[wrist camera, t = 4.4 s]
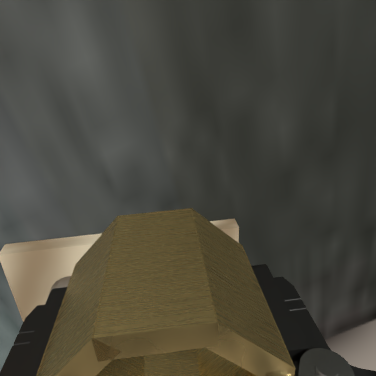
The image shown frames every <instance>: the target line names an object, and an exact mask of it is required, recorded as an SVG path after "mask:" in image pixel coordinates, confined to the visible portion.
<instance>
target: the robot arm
mask: <svg viewBox="0 0 376 376" xmlns="http://www.w3.org/2000/svg"><path fill="white" fill-rule="evenodd" d="M251 267H252V269H253V271H254V274H255V276H256V278H257V281H258V283H259V285H260V288H261V290H262V292H263V295H264V297H265V299H266V301H267V304H268V306H269V308H270V311H271V313H272V315H273V318H274V320H275V322H276V325H277V327H278V329H279V331H280V334H281V336H282V338H283V341H284V343H285V345H286V348H287V350H288V352H289V355H290V357H291V359H292V361H293V364H294V366H295V368H296V369H295V375H294V376H376V371H371V370H366V369H361V368H357V367H354V366H351V365H349V364H348V362H347V361H346V360H345V359H344V358H342V357H341V356H340V355H338V354H337V353H335V352H333V351H331V350H330V348H329V347H328V345H327V344H326V342H325V340H324V338H323V336H322V335H321V333H320V331H319V329H318V328H317V326H316V324H315V322H314V321H313V319H312V317H311V315H310V314H309V312H308V310H306V307H305V305H304V303H303V301H302V300H301V299H300V296H299V294H298V293H297V291H296V289H295V287H294V286H293V285H292V284H291V283H289V282H288V281H287V280H286V279H285V278H283V277H276V278H273V276H272V274H271V272H270V270H269V268H268V266H267V265H266V264H263V265H255V266H251ZM66 290H67V287H62V288H54V289H52V290H51V292H50V294H49V297H48V299H47V301H46V304H45V305H37V306H36V307H35V308H34V309H33V310H32V312H31V313H30V314H29V315H28V316H27V317H26V318H25V320H24V322H23V325H22V327H21V329H20V331H19V334H18V335H17V337H16V340H15V342H14V346H12V348H11V350H10V353H9V355H8V357H7V359H6V361H5V363H4V365H3V368H2V370H1V372H0V376H36V375H37V372H38V369H39V366H40V363H41V361H42V358H43V355H44V352H45V349H46V346H47V344H48V341H49V338H50V335H51V332H52V329H53V327H54V324H55V321H56V318H57V315H58V312H59V310H60V307H61V304H62V301H63V298H64V295H65V293H66Z"/></svg>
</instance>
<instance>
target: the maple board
mask: <svg viewBox="0 0 376 376" xmlns="http://www.w3.org/2000/svg"><path fill="white" fill-rule="evenodd" d="M210 222H211V223H212V224H214V225H215V226H216V227H218V228H219V229H220V230H222V231H223V232H225V233H226V234H227V235H229V236H230V237H231V238H233V239H234V240H235V241H237V242H238V240H239V227H238V225H237V223H236V221H235V219H227V220H218V221H210ZM101 235H102V234H93V235H84V236H75V237H66V238H57V239H48V240H39V241H30V242H21V243H12V244H5V245H4V247H3V248H2V250H1V251H0V262H1V264H2V267H3V270H4V272H5V275H6V278H7V280H8V283H9V286H10V288H11V291H12V293H13V296H14V299H15V301H16V304H17V307H18V309H19V312H20V315H21V317H22V320H23V322H24V320H25V318H26V317H27V316H28V315H29V314H30V313H31V312H32V310H33V309H34V308H35V307H36V306H37V305H45V304H46V301H47V299H48V297H49V294H50V292H51V290H52V289H54V288H62V287H68V284H69V281H70V278H71V276H72V273H73V270H74V267H75V264H76V263H77V262H78V261H79V260H80V259H81V257H82V256H83V255H84V254H85V253H86V252H87V251H88V249H89V248H90V247H91V246H92V245H93V244H94V243H95V241H96V240H97V239H98V238H99V237H100V236H101Z"/></svg>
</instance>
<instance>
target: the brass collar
mask: <svg viewBox="0 0 376 376" xmlns="http://www.w3.org/2000/svg"><path fill="white" fill-rule="evenodd" d="M295 369H296V368H295V366H294V364H293V361H292V359H291V357H290V355H289V352H288V350H287V348H286V345H285V343H284V341H283V338H282V336H281V334H280V331H279V329H278V327H277V325H276V322H275V320H274V318H273V315H272V313H271V311H270V308H269V306H268V304H267V301H266V299H265V297H264V295H263V292H262V290H261V288H260V285H259V283H258V281H257V278H256V276H255V274H254V271H253V269H252V267H251V265H250V262H249V260H248V258H247V255H246V253H245V251H244V248H243V246H242V245H241V244H240V243H238V242H237V241H235V240H234V239H233V238H231V237H230V236H229V235H227V234H226V233H225V232H223V231H222V230H220V229H219V228H218V227H216V226H215V225H214V224H212V223H211V222H210V221H208V220H207V219H205V218H204V217H203V216H201V215H200V214H199V213H197V212H196V211H195V210H193V209H192V208H189V209H179V210H170V211H160V212H151V213H141V214H131V215H122V216H117V217H116V218H115V220H114V221H113V222H112V223H111V224H110V225H109V227H108V228H107V229H106V230H105V231H104V232H103V233H102V235H101V236H100V237H99V238H98V239H97V240H96V241H95V243H94V244H93V245H92V246H91V247H90V248H89V249H88V251H87V252H86V253H85V254H84V255H83V256H82V257H81V259H80V260H79V261H78V262H77V263H76V264H75V267H74V270H73V273H72V276H71V278H70V281H69V284H68V287H67V290H66V293H65V295H64V298H63V301H62V304H61V307H60V310H59V312H58V315H57V318H56V321H55V324H54V327H53V329H52V332H51V335H50V338H49V341H48V344H47V346H46V349H45V352H44V355H43V358H42V361H41V363H40V366H39V369H38V372H37V375H36V376H294V375H295Z"/></svg>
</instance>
